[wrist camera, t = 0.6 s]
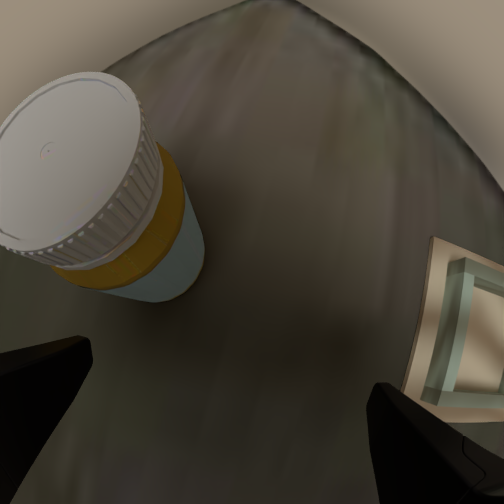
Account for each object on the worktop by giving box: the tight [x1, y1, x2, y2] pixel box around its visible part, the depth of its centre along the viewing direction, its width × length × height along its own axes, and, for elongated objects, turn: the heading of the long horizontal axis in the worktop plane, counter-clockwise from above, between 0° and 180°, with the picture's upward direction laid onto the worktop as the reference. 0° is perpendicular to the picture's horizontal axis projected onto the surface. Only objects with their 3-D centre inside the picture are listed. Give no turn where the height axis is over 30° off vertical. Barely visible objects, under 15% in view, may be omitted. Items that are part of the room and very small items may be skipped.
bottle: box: [0, 72, 205, 302], centre depth 14 cm, size 7×7×15 cm
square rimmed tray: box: [400, 237, 504, 422], centre depth 20 cm, size 15×15×3 cm
